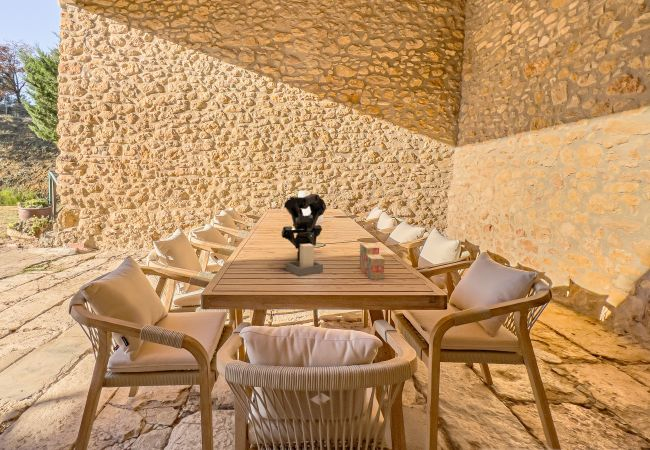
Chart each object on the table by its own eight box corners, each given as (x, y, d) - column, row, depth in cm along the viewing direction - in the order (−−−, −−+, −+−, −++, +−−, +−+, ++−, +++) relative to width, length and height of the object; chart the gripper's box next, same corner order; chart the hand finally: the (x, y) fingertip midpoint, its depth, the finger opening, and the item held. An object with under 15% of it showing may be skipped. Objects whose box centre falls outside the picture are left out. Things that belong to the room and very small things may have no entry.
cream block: (299, 269, 175) (299, 244, 173) (309, 268, 177) (310, 243, 175) (303, 272, 170) (303, 246, 169) (313, 271, 172) (313, 245, 170)
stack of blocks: (384, 279, 165) (385, 251, 163) (370, 279, 164) (371, 251, 162) (371, 266, 186) (372, 242, 184) (359, 267, 185) (360, 242, 183)
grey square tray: (307, 266, 184) (307, 259, 183) (322, 272, 174) (322, 264, 173) (285, 270, 176) (285, 262, 176) (300, 276, 166) (300, 268, 166)
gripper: (283, 209, 172) (290, 237, 164) (320, 208, 179) (329, 234, 171) (278, 223, 181) (285, 251, 172) (314, 222, 188) (322, 248, 179)
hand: (305, 246), depth 173 cm, fingers open, 9 cm apart
